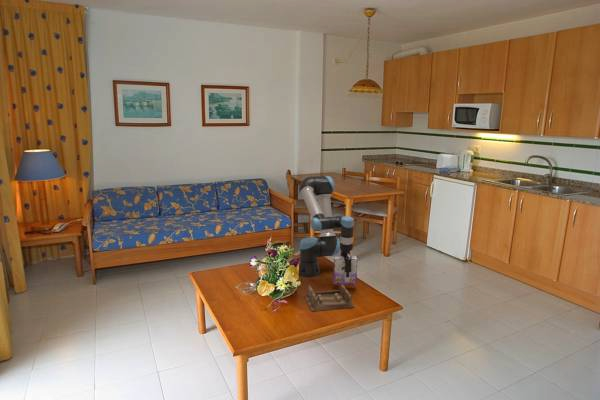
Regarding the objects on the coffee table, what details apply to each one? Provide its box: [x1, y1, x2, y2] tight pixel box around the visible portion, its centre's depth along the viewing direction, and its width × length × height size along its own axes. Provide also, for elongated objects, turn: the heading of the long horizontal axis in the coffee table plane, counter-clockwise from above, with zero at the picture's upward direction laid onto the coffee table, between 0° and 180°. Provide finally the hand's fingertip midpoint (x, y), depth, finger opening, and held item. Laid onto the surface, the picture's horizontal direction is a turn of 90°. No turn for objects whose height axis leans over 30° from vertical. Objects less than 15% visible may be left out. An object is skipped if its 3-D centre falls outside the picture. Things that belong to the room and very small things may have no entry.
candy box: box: [333, 254, 358, 286], centre depth 239 cm, size 14×6×16 cm, turn 85°
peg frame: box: [304, 283, 355, 312], centre depth 224 cm, size 18×24×7 cm
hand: (344, 278), depth 240 cm, fingers closed on candy box, 7 cm apart
